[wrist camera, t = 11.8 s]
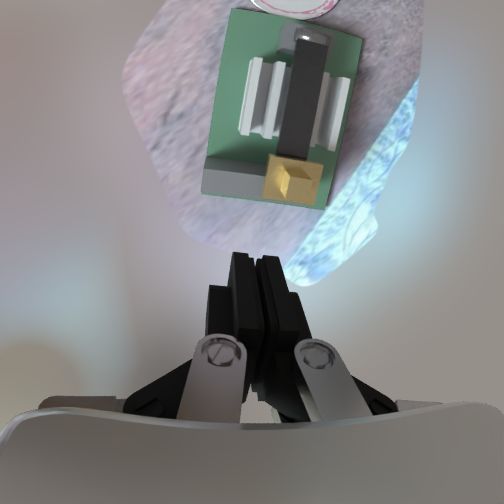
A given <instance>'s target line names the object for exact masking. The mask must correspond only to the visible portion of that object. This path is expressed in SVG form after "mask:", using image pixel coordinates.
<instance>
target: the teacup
mask: <svg viewBox="0 0 504 504" xmlns="http://www.w3.org/2000/svg"><path fill="white" fill-rule="evenodd" d="M250 1H251V2H252V3H253V4H254V5H255V6H256V7H258V8H260V9H261V10H263V11H265V12H267V13H268V14H272V15H277V16H282V17H286V18H291V19H295V20H307V19H311V18H316V17H319V16H321V15H323V14H324V13H326V12H328V11H329V10H331V9H332V8H333V7H334V5H335V4H336V3H337V2H338V1H339V0H250Z"/></svg>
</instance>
